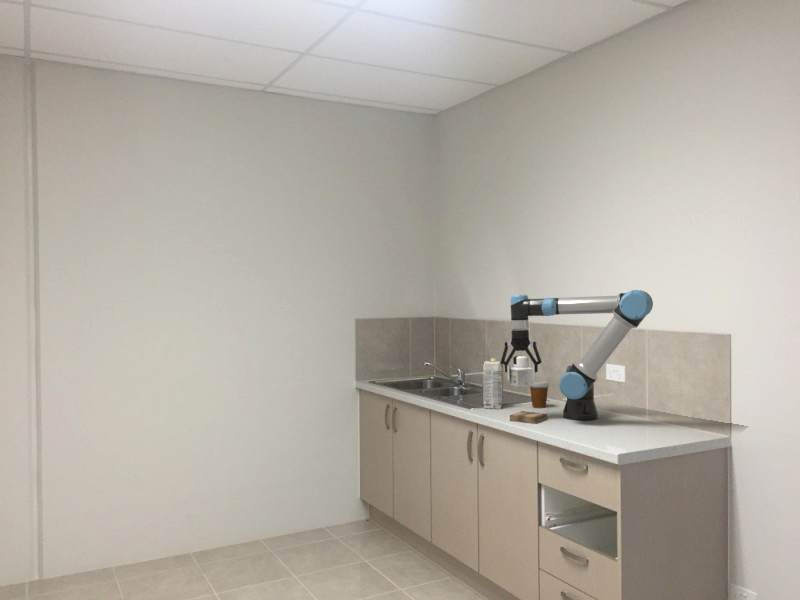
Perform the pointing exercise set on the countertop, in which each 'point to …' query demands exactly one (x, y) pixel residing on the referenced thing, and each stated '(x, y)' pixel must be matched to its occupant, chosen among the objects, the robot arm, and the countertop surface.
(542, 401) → the disposable coffee cup
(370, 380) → the countertop surface
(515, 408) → the countertop surface
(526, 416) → the stand
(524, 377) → the container
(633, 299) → the robot arm
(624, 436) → the countertop surface
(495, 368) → the juice carton
